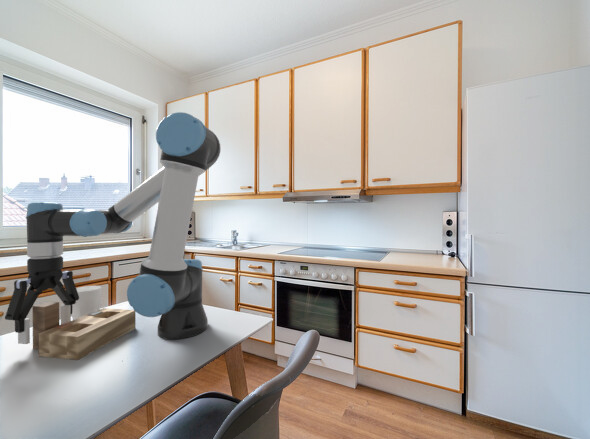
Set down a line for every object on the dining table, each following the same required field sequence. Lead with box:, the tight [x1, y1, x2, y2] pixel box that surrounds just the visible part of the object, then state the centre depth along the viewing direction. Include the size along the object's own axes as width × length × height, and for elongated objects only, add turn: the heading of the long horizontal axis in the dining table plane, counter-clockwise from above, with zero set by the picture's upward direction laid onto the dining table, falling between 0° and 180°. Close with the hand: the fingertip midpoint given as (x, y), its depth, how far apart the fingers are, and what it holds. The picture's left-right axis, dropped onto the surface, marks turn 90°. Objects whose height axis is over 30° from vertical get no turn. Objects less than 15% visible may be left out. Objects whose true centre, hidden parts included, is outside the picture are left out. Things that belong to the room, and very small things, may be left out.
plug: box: [31, 301, 60, 350], centre depth 77 cm, size 4×4×12 cm
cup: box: [71, 285, 103, 320], centre depth 94 cm, size 9×9×12 cm
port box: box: [38, 307, 137, 361], centre depth 81 cm, size 12×20×6 cm, turn 171°
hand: (46, 334), depth 77 cm, fingers open, 10 cm apart
